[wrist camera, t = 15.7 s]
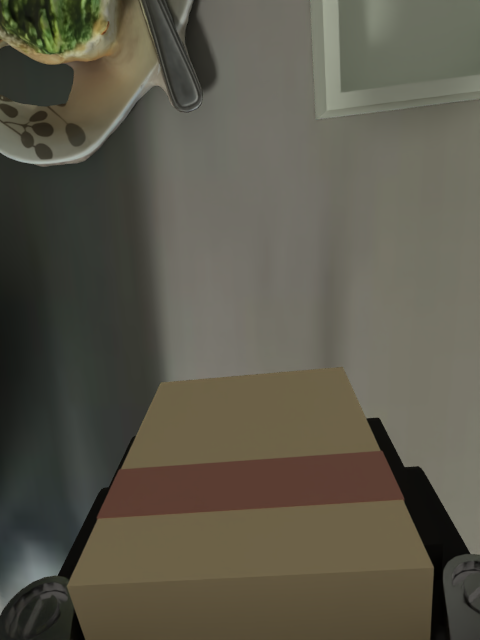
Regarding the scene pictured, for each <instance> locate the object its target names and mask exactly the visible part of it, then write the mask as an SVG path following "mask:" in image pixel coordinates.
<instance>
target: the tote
mask: <svg viewBox="0 0 480 640" xmlns="http://www.w3.org/2000/svg"><path fill="white" fill-rule="evenodd" d="M310 13H311V34H312V55H313V76H314V97H315V118H316V120H319V119H327V118H335V117H343V116H351V115H359V114H366V113H374V112H382V111H390V110H398V109H406V108H413V107H421V106H429V105H437V104H445V103H453V102H461V101H468V100H476V99H480V0H310Z"/></svg>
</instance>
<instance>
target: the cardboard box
mask: <svg viewBox="0 0 480 640" xmlns="http://www.w3.org/2000/svg"><path fill="white" fill-rule="evenodd" d="M433 576H434V567H433V565H432V562H431V560H430V558H429V556H428V554H427V551H426V549H425V547H424V545H423V543H422V540H421V538H420V536H419V534H418V532H417V529H416V527H415V525H414V523H413V521H412V518H411V516H410V514H409V512H408V510H407V507H406V505H405V503H404V497H403V495H402V493H401V490H400V488H399V486H398V484H397V482H396V480H395V477H394V475H393V473H392V471H391V469H390V466H389V464H388V462H387V460H386V458H385V456H384V453H383V451H381V450H380V448H379V446H378V444H377V441H376V439H375V437H374V435H373V433H372V430H371V428H370V426H369V424H368V422H367V419H366V417H365V415H364V413H363V411H362V408H361V406H360V404H359V402H358V400H357V397H356V395H355V393H354V391H353V389H352V386H351V384H350V382H349V380H348V378H347V375H346V373H345V371H344V369H343V367H337V368H325V369H313V370H302V371H290V372H279V373H267V374H255V375H244V376H232V377H221V378H209V379H197V380H186V381H174V382H163V383H160V385H159V388H158V390H157V392H156V394H155V396H154V398H153V401H152V403H151V405H150V407H149V409H148V411H147V414H146V416H145V418H144V420H143V422H142V424H141V427H140V429H139V431H138V433H137V435H136V437H135V440H134V442H133V444H132V446H131V448H130V450H129V453H128V455H127V457H126V459H125V461H124V463H123V466H122V468H121V469H119V471H118V473H117V475H116V477H115V479H114V482H113V484H112V486H111V488H110V490H109V492H108V494H107V497H106V499H105V501H104V503H103V505H102V507H101V509H100V512H99V514H98V516H97V522H96V524H95V526H94V528H93V531H92V533H91V535H90V537H89V539H88V541H87V544H86V546H85V548H84V550H83V552H82V554H81V557H80V559H79V561H78V563H77V565H76V567H75V570H74V572H73V574H72V576H71V578H70V580H69V583H68V585H67V588H68V591H69V594H70V597H71V600H72V603H73V606H74V609H75V611H76V614H77V617H78V620H79V623H80V626H81V629H82V632H83V635H84V638H85V640H430V632H431V613H432V594H433Z"/></svg>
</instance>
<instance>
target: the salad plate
mask: <svg viewBox="0 0 480 640" xmlns="http://www.w3.org/2000/svg"><path fill="white" fill-rule="evenodd" d="M193 1H194V0H0V49H1V48H2V47H4V46H8V45H11V46H12V47H13V48H15V49H16V50H18V51H20V52H21V53H23V54H25V55H27V56H28V57H30V58H32V59H34V60H36V61H38V62H41V63H44V64H61V63H64V64H67V65H69V66H71V67H72V68H73V70H74V80H73V86H72V90H71V92H70V95H69V99H68V102H67V103H66V104H60V105H54V106H48V107H39V106H36V105H26V104H20V103H17V102H14V101H12V100H10V99H8V98H6V97H4V96H2V95H0V153H2V154H3V155H5V156H7V157H8V158H11V159H14V160H16V161H20V162H25V163H31V164H36V165H39V166H43V167H46V166H51V165H64V164H70V163H79V162H82V161H85V160H87V159H88V158H89V157H90V156H91V155H93V154H94V153H95V152H96V151H97V150H99V148H100V147H101V146H102V144H103V143H104V142H105V141H106V140H107V139H108V137H109V136H110V135H111V134H112V133H113V132H114V131H115V130H116V129H117V128H118V127H119V125H120V124H121V123H122V122H123V121H124V120H125V118H126V117H127V115H128V114H129V112H130V111H131V109H132V108H133V107H134V105H135V103H136V102H137V101H138V100H139V99H140V98H141V97H142V96H143V95H144V94H145V93H146V92H147V91H148V90H149V89H151V88H152V87H153V86H160V87H161V88H163V90H164V91H165V92H166V93H167V95H168V98H169V101H170V103H171V104H172V105H173V106H174V107H175V108H176V109H177V110H178V111H180V112H191V111H193V110H195V109H197V108H198V107H199V106H200V105H201V103H202V99H203V92H202V88H201V85H200V83H199V81H198V78H197V75H196V73H195V70H194V68H193V65H192V63H191V60H190V58H189V55H188V51H187V48H186V45H185V30H186V26H187V23H188V18H189V13H190V11H191V8H192V4H193Z"/></svg>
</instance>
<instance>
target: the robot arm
mask: <svg viewBox="0 0 480 640" xmlns="http://www.w3.org/2000/svg"><path fill="white" fill-rule="evenodd" d="M367 422H368V424H369V426H370V428H371V430H372V433H373V435H374V437H375V439H376V441H377V444H378V446H379V448H380V450H381V451H383V453H384V456H385V458H386V460H387V462H388V464H389V466H390V469H391V471H392V473H393V475H394V477H395V480H396V482H397V484H398V486H399V488H400V490H401V493H402V495H403V497H404V503H405V505H406V507H407V510H408V512H409V514H410V516H411V518H412V521H413V523H414V525H415V527H416V529H417V532H418V534H419V536H420V538H421V540H422V543H423V545H424V547H425V549H426V551H427V554H428V556H429V558H430V560H431V562H432V565H433V567H434V576H433V594H432V613H431V632H430V640H480V555H475V554H470V552H469V550H468V549H467V547H466V545H465V543H464V542H463V540H462V538H461V536H460V535H459V533H458V531H457V529H456V528H455V526H454V524H453V522H452V520H451V519H450V517H449V515H448V513H447V512H446V510H445V508H444V506H443V505H442V503H441V501H440V499H439V498H438V496H437V494H436V492H435V491H434V489H433V487H432V485H431V484H430V482H429V480H428V478H427V476H426V475H425V473H424V471H423V470H422V469H421V468H420V467H419V466H417V467H404V465H403V463H402V461H401V459H400V457H399V456H398V454H397V452H396V450H395V448H394V446H393V444H392V442H391V440H390V438H389V436H388V434H387V432H386V430H385V428H384V426H383V424H382V422H381V420H380V419H379V418H367ZM135 437H136V436H134V437H133V438H132V439H131V441H130V443H129V446H128V448H127V450H126V452H125V454H124V456H123V458H122V460H121V462H120V465H119V467H118V469H117V471H116V473H115V475H114V477H113V479H112V481H111V484H110V486H109V487H107V488H103V489H101V491H100V492H99V494H98V495H97V497H96V499H95V501H94V503H93V506H92V508H91V510H90V512H89V514H88V516H87V518H86V520H85V522H84V524H83V526H82V528H81V530H80V532H79V534H78V536H77V538H76V540H75V542H74V544H73V546H72V548H71V550H70V552H69V554H68V556H67V558H66V560H65V562H64V564H63V566H62V568H61V570H60V572H59V574H58V576H50V577H44V578H42V579H39V580H37V581H34V582H32V583H31V584H29V585H28V586H26V587H25V588H23V589H21V590H20V591H19V592H18V593H17V594H16V595H15V596H14V597H13V598H12V599H11V600H10V601H9V603H8V604H7V605H6V606H5V608H4V609H3V611H2V613H1V615H0V640H85V638H84V635H83V632H82V629H81V626H80V623H79V620H78V617H77V614H76V611H75V609H74V606H73V603H72V600H71V597H70V594H69V591H68V588H67V585H68V583H69V580H70V578H71V576H72V574H73V572H74V570H75V567H76V565H77V563H78V561H79V559H80V557H81V554H82V552H83V550H84V548H85V546H86V544H87V541H88V539H89V537H90V535H91V533H92V531H93V528H94V526H95V524H96V522H97V516H98V514H99V512H100V509H101V507H102V505H103V503H104V501H105V499H106V497H107V494H108V492H109V490H110V488H111V486H112V484H113V482H114V479H115V477H116V475H117V473H118V471H119V469H121V468H122V466H123V463H124V461H125V459H126V457H127V455H128V453H129V450H130V448H131V446H132V444H133V442H134V440H135Z"/></svg>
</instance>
